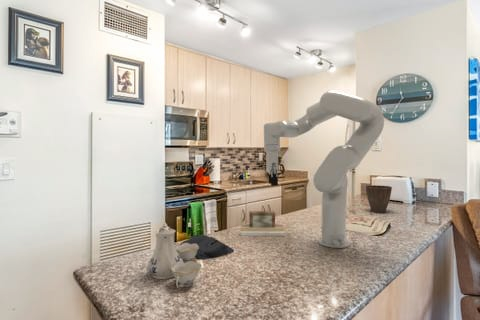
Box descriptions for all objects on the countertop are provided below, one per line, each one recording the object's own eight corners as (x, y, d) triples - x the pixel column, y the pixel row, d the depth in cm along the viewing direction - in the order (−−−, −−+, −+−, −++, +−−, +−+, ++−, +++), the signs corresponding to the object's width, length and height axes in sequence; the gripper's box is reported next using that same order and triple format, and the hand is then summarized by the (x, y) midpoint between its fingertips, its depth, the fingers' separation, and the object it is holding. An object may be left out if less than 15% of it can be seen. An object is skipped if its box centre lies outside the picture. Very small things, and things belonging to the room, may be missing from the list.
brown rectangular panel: (274, 227, 136) (274, 211, 136) (275, 230, 132) (275, 213, 132) (249, 227, 137) (249, 211, 137) (249, 230, 133) (249, 213, 132)
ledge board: (281, 228, 140) (281, 222, 140) (284, 235, 128) (284, 229, 128) (241, 228, 141) (241, 222, 141) (240, 235, 129) (240, 229, 129)
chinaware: (206, 296, 78) (211, 236, 78) (143, 298, 74) (149, 235, 74) (195, 259, 106) (199, 215, 105) (148, 259, 101) (153, 213, 101)
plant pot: (361, 211, 178) (361, 186, 178) (371, 208, 188) (371, 184, 188) (386, 215, 167) (386, 188, 167) (395, 211, 177) (395, 186, 177)
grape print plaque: (317, 233, 144) (382, 242, 126) (317, 221, 143) (382, 228, 125) (336, 218, 166) (393, 224, 148) (335, 208, 166) (393, 213, 147)
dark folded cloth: (209, 239, 126) (209, 228, 125) (236, 254, 107) (236, 241, 107) (176, 245, 117) (176, 234, 117) (200, 263, 99) (200, 249, 99)
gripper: (262, 149, 144) (263, 183, 144) (266, 148, 126) (267, 186, 127) (277, 149, 144) (278, 182, 144) (282, 148, 126) (283, 186, 127)
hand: (273, 184), depth 135 cm, fingers open, 9 cm apart
